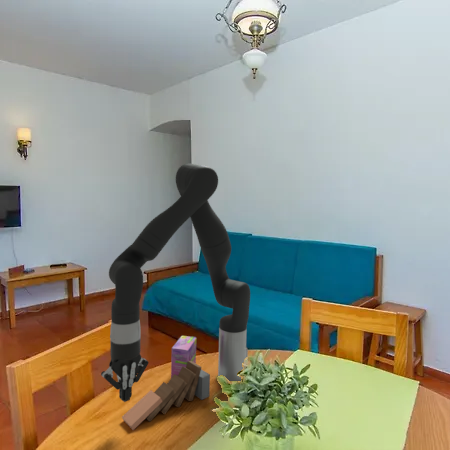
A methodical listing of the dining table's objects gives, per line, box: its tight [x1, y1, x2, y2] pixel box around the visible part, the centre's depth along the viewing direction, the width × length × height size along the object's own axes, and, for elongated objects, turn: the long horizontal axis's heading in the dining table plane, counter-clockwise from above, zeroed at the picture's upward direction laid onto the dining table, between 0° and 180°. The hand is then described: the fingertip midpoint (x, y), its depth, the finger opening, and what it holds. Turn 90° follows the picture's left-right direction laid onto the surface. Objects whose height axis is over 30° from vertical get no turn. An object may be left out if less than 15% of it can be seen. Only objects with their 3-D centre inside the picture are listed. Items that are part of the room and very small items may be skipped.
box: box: [170, 335, 197, 379], centre depth 121 cm, size 10×6×12 cm, turn 168°
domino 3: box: [172, 367, 196, 408], centre depth 107 cm, size 2×5×10 cm
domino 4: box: [184, 361, 202, 402], centre depth 109 cm, size 2×5×10 cm, turn 44°
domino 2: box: [159, 374, 187, 415], centre depth 104 cm, size 2×5×10 cm
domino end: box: [121, 389, 162, 431], centre depth 98 cm, size 2×5×10 cm
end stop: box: [194, 369, 211, 401], centre depth 111 cm, size 3×8×7 cm, turn 44°
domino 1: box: [145, 381, 176, 422], centre depth 101 cm, size 2×5×10 cm
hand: (125, 399), depth 94 cm, fingers closed
